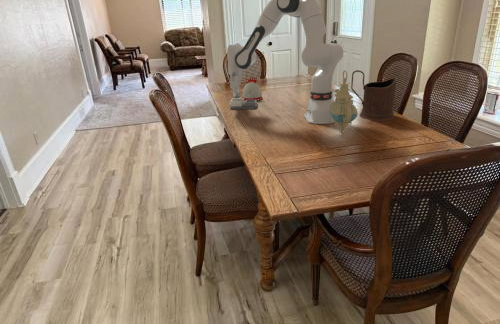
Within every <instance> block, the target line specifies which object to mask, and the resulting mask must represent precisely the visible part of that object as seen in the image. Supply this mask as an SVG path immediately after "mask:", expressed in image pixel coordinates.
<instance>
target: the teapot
mask: <svg viewBox="0 0 500 324" xmlns="http://www.w3.org/2000/svg"><path fill="white" fill-rule="evenodd" d="M347 81H348V71H347V70H346V69H345V70H343V72H342V84H341V82H339V85H340V87H338V88H335V90H334V93H336V94H334V97H335V99H334V102H333V103H332V104H331V106H330V108H329V112H330V114H331V116H332V118H333V121H334V124H336V125H337V126H338V127H339V132H340V134H343V133H344V129H345V128H346V127H347V126H349V125H350V124H352V122H353V121H354V120H356V119H357V117H358V115H359V113H358V108H356V105H354V96H352V94H350V89H349V84H350V82H348V83H347Z"/></svg>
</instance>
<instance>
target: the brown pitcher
mask: <svg viewBox="0 0 500 324" xmlns="http://www.w3.org/2000/svg"><path fill="white" fill-rule="evenodd" d="M355 73H361V74H362V86H363V87H362V88H363V89H362V90H363V98H362V97H361V96H360V95H359V94H358V93H357V91H356V90H354V88H353V83H354V74H355ZM396 86H397V78H390V79H388V80H385V81H373V82H372V81H371V82H368V83H365V73H364V72H363V71H362V70H357V69H356V70H354V71H352V74H351V85H350V87H351V91H352V92H353V93H354V94H355V95H356V97H358V99H359V100H361V105H362V109H361V111H360V113H359V114H358V115H359V117H360V118H362V119H364V120H369V121H377V122H380V121H381V122H383V121H385V122H386V121H390V120H393V119H394V118H395V115H394V111H393V109H394V101H395V96H396V95H395V93H396Z"/></svg>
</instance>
